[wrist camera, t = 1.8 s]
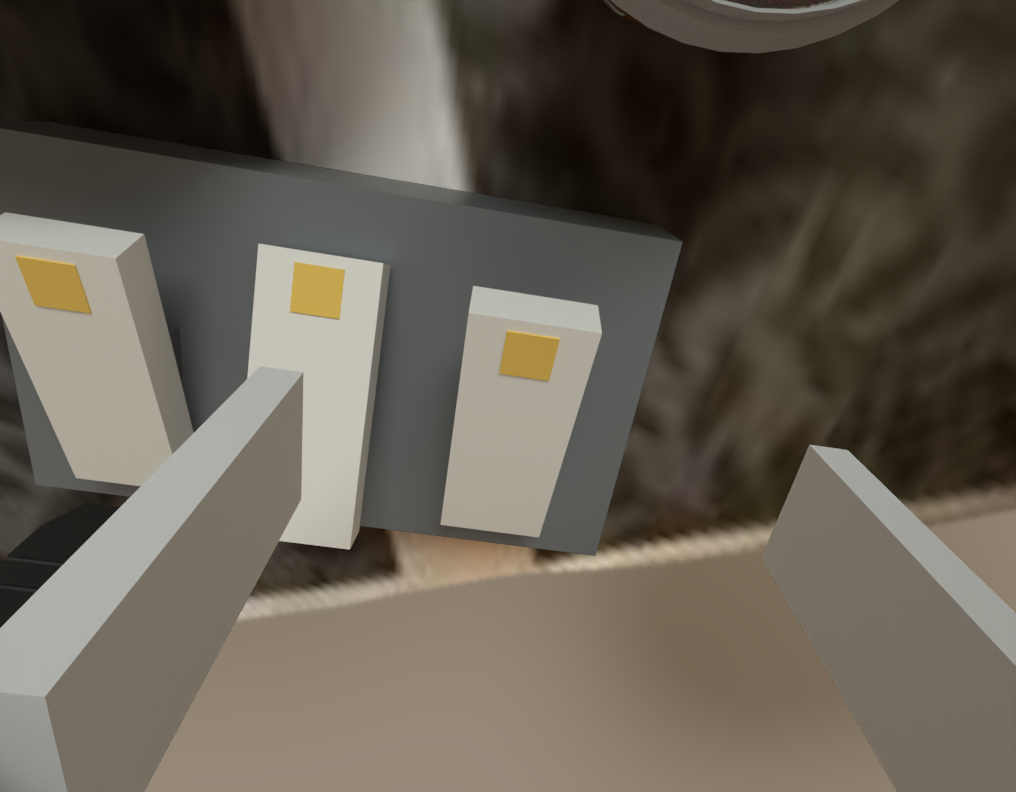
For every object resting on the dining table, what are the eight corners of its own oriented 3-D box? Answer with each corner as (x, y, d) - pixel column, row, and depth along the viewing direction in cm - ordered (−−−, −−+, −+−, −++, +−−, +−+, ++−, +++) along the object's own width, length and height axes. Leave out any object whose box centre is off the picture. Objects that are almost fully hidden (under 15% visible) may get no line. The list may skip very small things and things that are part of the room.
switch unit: (49, 121, 23) (-65, 122, 18) (656, 223, 25) (690, 247, 20) (95, 442, 29) (19, 502, 24) (583, 506, 30) (597, 574, 26)
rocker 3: (473, 285, 19) (468, 314, 17) (598, 305, 19) (602, 334, 18) (445, 494, 25) (440, 525, 24) (539, 506, 25) (539, 538, 24)
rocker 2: (275, 247, 21) (257, 243, 19) (390, 265, 21) (382, 263, 19) (251, 518, 22) (233, 536, 21) (359, 531, 23) (349, 550, 21)
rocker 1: (5, 212, 18) (-37, 236, 16) (144, 234, 18) (114, 259, 17) (99, 448, 24) (74, 479, 23) (200, 462, 24) (182, 493, 23)
